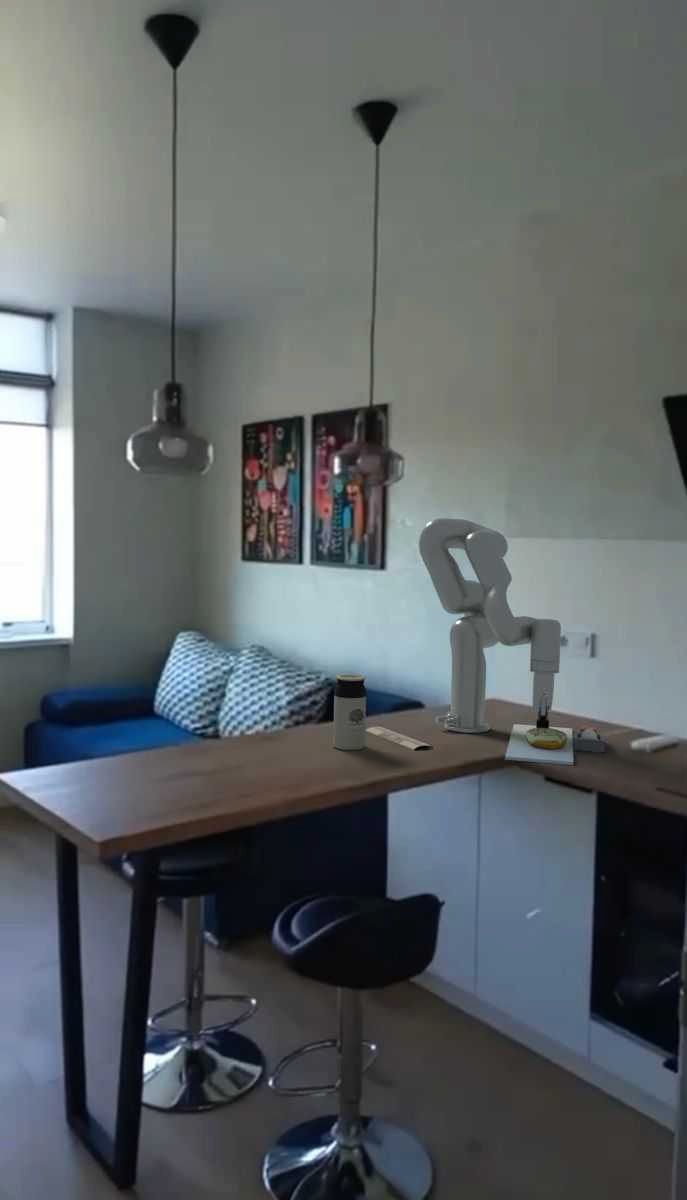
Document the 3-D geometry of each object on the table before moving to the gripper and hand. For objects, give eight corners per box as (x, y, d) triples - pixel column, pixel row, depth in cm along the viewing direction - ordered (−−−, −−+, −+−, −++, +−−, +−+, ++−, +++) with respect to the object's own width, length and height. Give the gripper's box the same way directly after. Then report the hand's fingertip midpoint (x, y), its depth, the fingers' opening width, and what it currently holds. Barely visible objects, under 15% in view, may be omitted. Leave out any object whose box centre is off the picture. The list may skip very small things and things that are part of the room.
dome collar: (573, 743, 236) (573, 732, 236) (603, 746, 234) (603, 734, 234) (573, 750, 229) (573, 738, 228) (604, 752, 227) (604, 741, 227)
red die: (579, 740, 241) (580, 725, 240) (595, 741, 240) (595, 726, 239) (580, 743, 237) (580, 728, 236) (595, 744, 236) (596, 729, 235)
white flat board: (513, 727, 255) (514, 724, 255) (571, 731, 251) (572, 728, 251) (505, 759, 217) (505, 756, 217) (573, 765, 213) (573, 761, 213)
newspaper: (433, 751, 227) (433, 744, 227) (409, 753, 224) (410, 746, 224) (383, 732, 248) (383, 725, 247) (361, 734, 244) (361, 727, 244)
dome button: (579, 743, 234) (579, 726, 234) (597, 744, 233) (598, 728, 233) (579, 747, 230) (580, 730, 229) (598, 748, 229) (598, 732, 228)
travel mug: (329, 743, 229) (331, 674, 228) (360, 742, 231) (361, 673, 230) (337, 751, 221) (339, 679, 220) (368, 750, 223) (370, 678, 222)
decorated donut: (525, 748, 226) (526, 734, 225) (524, 739, 236) (525, 725, 236) (568, 751, 224) (568, 736, 223) (565, 741, 234) (565, 727, 234)
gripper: (530, 661, 244) (528, 728, 245) (529, 669, 229) (527, 740, 231) (559, 663, 242) (556, 730, 243) (559, 671, 228) (557, 742, 229)
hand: (542, 735), depth 237 cm, fingers closed
